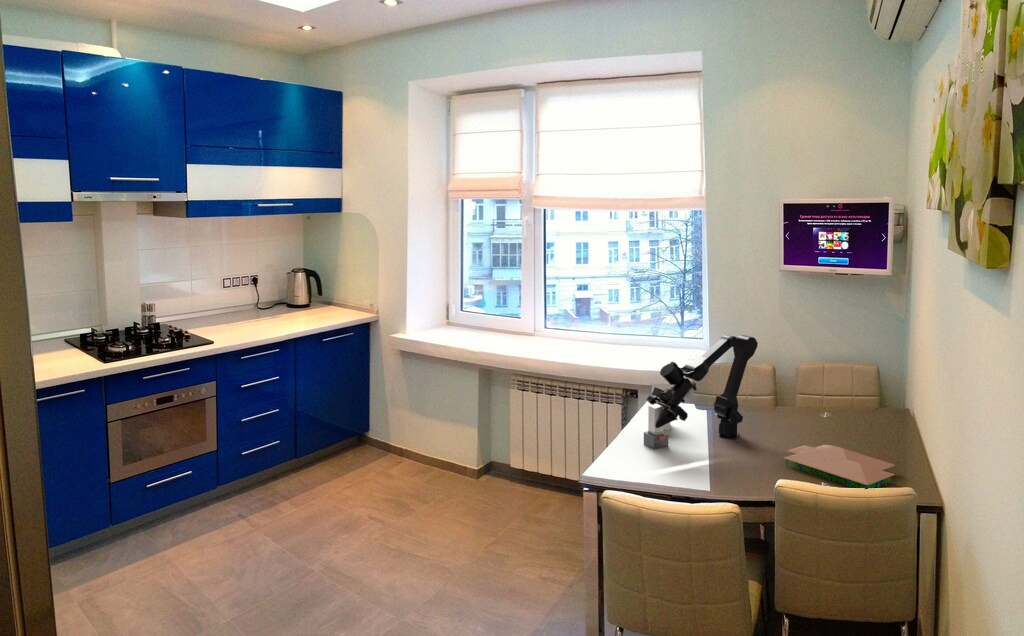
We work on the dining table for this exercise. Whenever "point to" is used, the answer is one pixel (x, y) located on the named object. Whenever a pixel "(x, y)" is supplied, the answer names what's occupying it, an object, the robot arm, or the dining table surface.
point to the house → (841, 464)
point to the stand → (656, 440)
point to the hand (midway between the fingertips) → (652, 425)
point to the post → (655, 419)
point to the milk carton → (657, 385)
